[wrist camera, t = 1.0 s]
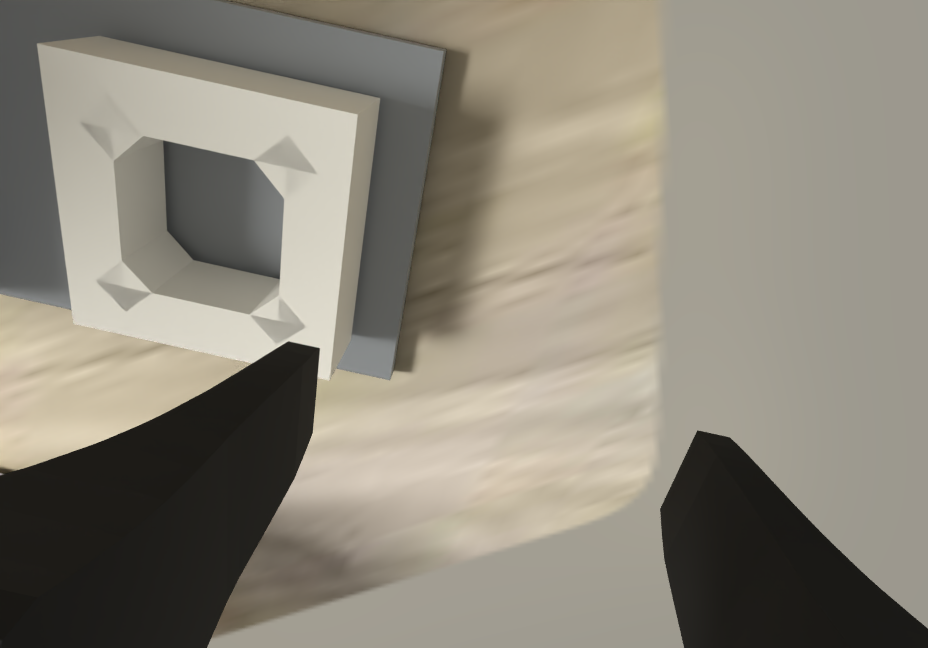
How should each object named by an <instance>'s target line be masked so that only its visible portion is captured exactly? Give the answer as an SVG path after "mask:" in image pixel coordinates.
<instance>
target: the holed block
mask: <svg viewBox="0 0 928 648" xmlns="http://www.w3.org/2000/svg"><path fill="white" fill-rule="evenodd" d="M37 48H38V56H39V64H40V71H41V79H42V86H43V94H44V102H45V109H46V117H47V125H48V132H49V140H50V148H51V155H52V163H53V171H54V178H55V186H56V194H57V201H58V209H59V217H60V224H61V232H62V240H63V247H64V255H65V263H66V270H67V278H68V286H69V293H70V301H71V309H72V316H73V324H76V325H81V326H85V327H90V328H94V329H99V330H103V331H108V332H112V333H117V334H121V335H126V336H130V337H135V338H139V339H144V340H149V341H153V342H158V343H162V344H167V345H171V346H176V347H180V348H185V349H189V350H194V351H198V352H203V353H207V354H212V355H216V356H221V357H225V358H230V359H234V360H239V361H243V362H248V363H254V362H255V361H257V360H259V359H260V358H262V357H263V356H265V355H266V354H268V353H270V352H271V351H273V350H275V349H276V348H278V347H280V346H281V345H283V344H285V343H286V342H288V341H290V342H294V343H299V344H303V345H308V346H313V347H317V348H320V355H319V366H318V377H317V378H320V379H325V380H329V381H330V379H331V377H332V375H333V373H334V371H335V369H336V367H337V365H338V364H339V362H340V360H341V358H342V356H343V354H344V352H345V350H346V348H347V346H348V345H349V343H350V341H351V335H352V327H353V319H354V311H355V302H356V294H357V286H358V278H359V270H360V261H361V253H362V245H363V237H364V228H365V220H366V212H367V204H368V196H369V187H370V179H371V171H372V163H373V154H374V146H375V138H376V130H377V122H378V113H379V105H380V98H378V97H373V96H369V95H364V94H360V93H355V92H351V91H346V90H342V89H337V88H333V87H328V86H324V85H319V84H315V83H310V82H306V81H301V80H297V79H292V78H288V77H283V76H279V75H274V74H269V73H265V72H260V71H256V70H251V69H247V68H242V67H238V66H233V65H229V64H224V63H220V62H215V61H211V60H206V59H202V58H197V57H193V56H188V55H184V54H179V53H175V52H170V51H166V50H161V49H157V48H152V47H148V46H143V45H139V44H134V43H130V42H125V41H121V40H116V39H112V38H107V37H103V36H94V37H86V38H77V39H69V40H61V41H53V42H44V43H37ZM163 140H164V141H169V142H173V143H178V144H182V145H187V146H191V147H196V148H200V149H205V150H209V151H214V152H218V153H223V154H227V155H232V156H237V157H241V158H246V159H250V160H254V161H255V163H256V164H257V165H258V166H259V168H260V169H261V170H262V171H263V173H264V174H265V175H266V176H267V178H268V179H269V180H270V182H271V183H272V184H273V185H274V187H275V188H276V189H277V190H278V192H279V193H280V194H281V195H282V197H283V198H284V213H283V232H282V250H281V269H280V279H276V278H272V277H267V276H263V275H258V274H254V273H249V272H245V271H240V270H236V269H231V268H227V267H222V266H218V265H213V264H209V263H204V262H200V261H195V260H193V259H192V258H191V257H190V256H189V255H188V254H187V252H186V251H185V250H184V249H183V248H182V247H181V246H180V245H179V243H178V242H177V241H176V240H175V239H174V238H173V237H172V236H171V234H170V233H169V232H168V231H167V220H166V196H165V173H164V149H163Z"/></svg>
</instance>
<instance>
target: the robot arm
mask: <svg viewBox="0 0 928 648" xmlns="http://www.w3.org/2000/svg"><path fill="white" fill-rule="evenodd" d="M319 355H320V348H317V347H313V346H308V345H303V344H299V343H294V342H290V341H288V342H286V343H285V344H283V345H281V346H280V347H278V348H276V349H275V350H273V351H271V352H270V353H268V354H266V355H265V356H263V357H262V358H260V359H259V360H257V361H255V362H254V363H252V364H251V365H249V366H247V367H246V368H244V369H243V370H241V371H239V372H238V373H236V374H234V375H233V376H231V377H229V378H228V379H226V380H224V381H223V382H221V383H219V384H218V385H216V386H214V387H213V388H211V389H209V390H208V391H206V392H204V393H202V394H200V395H198V396H196V397H195V398H193V399H191V400H189V401H187V402H185V403H183V404H181V405H180V406H178V407H176V408H174V409H172V410H170V411H168V412H166V413H164V414H162V415H160V416H158V417H156V418H154V419H152V420H150V421H148V422H146V423H143V424H141V425H139V426H137V427H135V428H132V429H130V430H128V431H125V432H123V433H120V434H118V435H116V436H113V437H111V438H109V439H106V440H104V441H101V442H99V443H96V444H93V445H91V446H88V447H85V448H82V449H79V450H76V451H73V452H71V453H68V454H65V455H62V456H59V457H56V458H53V459H51V460H48V461H45V462H42V463H39V464H36V465H33V466H30V467H27V468H24V469H20V470H17V471H13V472H10V473H7V474H3V473H0V648H207V646H208V644H209V642H210V639H211V637H212V635H213V632H214V630H215V628H216V626H217V623H218V621H219V619H220V616H221V614H222V612H223V610H224V607H225V605H226V603H227V601H228V599H229V597H230V595H231V593H232V591H233V589H234V587H235V585H236V583H237V581H238V579H239V577H240V575H241V573H242V572H243V570H244V568H245V566H246V565H247V563H248V561H249V559H250V557H251V556H252V554H253V552H254V550H255V548H256V547H257V545H258V543H259V541H260V540H261V538H262V536H263V534H264V532H265V531H266V529H267V527H268V525H269V524H270V522H271V520H272V518H273V516H274V515H275V513H276V511H277V509H278V507H279V506H280V504H281V502H282V500H283V498H284V497H285V495H286V493H287V491H288V489H289V487H290V486H291V484H292V482H293V480H294V478H295V476H296V473H297V471H298V468H299V466H300V464H301V461H302V459H303V456H304V454H305V451H306V449H307V446H308V443H309V441H310V438H311V436H312V433H313V422H314V411H315V400H316V388H317V377H318V366H319ZM660 512H661V526H662V539H663V550H664V559H665V564H666V568H667V574H668V578H669V583H670V587H671V592H672V596H673V601H674V605H675V610H676V614H677V618H678V623H679V627H680V631H681V636H682V640H683V644H684V648H928V629H927V628H926V627H925V626H924V625H923V624H922V623H920V622H919V621H918V620H917V619H916V618H914V617H913V616H912V615H911V614H910V613H908V612H907V611H906V610H905V609H904V608H903V607H901V606H900V605H899V604H898V603H897V602H895V601H894V600H893V599H892V598H891V597H890V596H888V595H887V594H886V593H885V592H884V591H882V590H881V589H880V588H879V587H878V586H877V585H876V584H875V583H874V582H872V581H871V580H870V579H869V578H868V577H867V576H866V575H865V574H864V573H863V572H861V571H860V570H859V569H858V568H857V567H856V566H855V565H854V564H853V563H852V562H851V561H850V560H849V559H848V558H847V557H846V556H845V555H844V554H842V552H841V551H840V550H838V549H837V548H836V547H835V546H834V545H833V544H832V543H831V542H830V541H829V540H828V539H827V538H826V537H825V536H824V535H823V534H822V533H821V532H820V531H819V530H818V529H817V528H816V527H815V526H814V525H813V524H812V523H811V522H810V521H809V520H808V518H806V516H805V515H804V514H803V513H802V512H801V511H800V510H799V509H798V508H797V507H796V506H795V505H794V504H793V503H792V502H791V501H790V500H789V499H788V498H787V496H786V495H785V494H784V493H783V492H782V491H781V490H780V489H779V488H778V487H777V486H776V485H775V484H774V482H773V481H771V479H770V478H769V477H768V476H767V475H766V474H765V473H764V472H763V471H762V470H761V469H760V467H759V466H758V465H757V464H756V463H755V462H754V461H753V460H752V459H751V458H750V457H749V456H748V455H747V454H746V453H745V452H744V451H743V450H742V449H741V448H740V447H739V446H738V445H737V444H736V443H735V442H734V441H733V440H732V439H731V438H729V437H725V436H720V435H716V434H711V433H707V432H702V431H697V433H696V435H695V437H694V439H693V441H692V443H691V445H690V447H689V450H688V452H687V454H686V456H685V458H684V460H683V462H682V464H681V466H680V468H679V471H678V473H677V475H676V477H675V479H674V481H673V483H672V486H671V487H670V490H669V492H668V494H667V496H666V498H665V500H664V503H663V504H662V506H661V509H660Z"/></svg>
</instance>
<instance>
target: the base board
mask: <svg viewBox="0 0 928 648" xmlns="http://www.w3.org/2000/svg"><path fill="white" fill-rule="evenodd" d="M94 36H103V37H107V38H112V39H116V40H121V41H125V42H130V43H134V44H139V45H143V46H148V47H152V48H157V49H161V50H166V51H170V52H175V53H179V54H184V55H188V56H193V57H197V58H202V59H206V60H211V61H215V62H220V63H224V64H229V65H233V66H238V67H242V68H247V69H251V70H256V71H260V72H265V73H269V74H274V75H279V76H283V77H288V78H292V79H297V80H301V81H306V82H310V83H315V84H319V85H324V86H328V87H333V88H337V89H342V90H346V91H351V92H355V93H360V94H364V95H369V96H373V97H378V98H380V105H379V113H378V122H377V130H376V138H375V146H374V154H373V163H372V171H371V179H370V187H369V196H368V204H367V212H366V220H365V228H364V237H363V245H362V253H361V261H360V270H359V278H358V286H357V294H356V302H355V311H354V319H353V327H352V335H351V341H350V343H349V345H348V346H347V348H346V350H345V352H344V354H343V356H342V358H341V360H340V362H339V364H338V365H337V367H336V368H337V369H341V370H346V371H350V372H355V373H359V374H364V375H368V376H373V377H377V378H382V379H386V380H390V379H391V376H392V374H393V371H394V365H395V359H396V353H397V347H398V340H399V334H400V328H401V322H402V316H403V310H404V304H405V298H406V292H407V286H408V280H409V274H410V268H411V262H412V256H413V250H414V244H415V238H416V232H417V226H418V220H419V213H420V207H421V201H422V195H423V189H424V183H425V177H426V171H427V165H428V159H429V153H430V147H431V141H432V135H433V129H434V123H435V117H436V111H437V105H438V99H439V93H440V86H441V80H442V74H443V68H444V62H445V56H446V50H447V49H443V48H438V47H434V46H429V45H425V44H420V43H416V42H411V41H407V40H402V39H398V38H393V37H389V36H384V35H380V34H375V33H371V32H366V31H362V30H357V29H353V28H348V27H344V26H339V25H335V24H330V23H326V22H321V21H317V20H312V19H308V18H303V17H299V16H294V15H290V14H285V13H281V12H276V11H272V10H267V9H263V8H258V7H254V6H249V5H245V4H240V3H236V2H231V1H227V0H0V294H2V295H7V296H11V297H16V298H20V299H25V300H29V301H34V302H38V303H43V304H47V305H52V306H56V307H61V308H66V309H70V310H72V309H71V301H70V293H69V286H68V278H67V270H66V263H65V255H64V247H63V240H62V232H61V224H60V217H59V209H58V201H57V194H56V186H55V178H54V171H53V163H52V155H51V148H50V140H49V132H48V125H47V117H46V109H45V102H44V94H43V86H42V79H41V71H40V64H39V56H38V48H37V43H44V42H53V41H61V40H69V39H77V38H86V37H94ZM163 149H164V173H165V196H166V220H167V231H168V232H169V233H170V234H171V236H172V237H173V238H174V239H175V240H176V241H177V242H178V243H179V245H180V246H181V247H182V248H183V249H184V250H185V251H186V252H187V254H188V255H189V256H190V257H191V258H192V259H193V260H195V261H200V262H204V263H209V264H213V265H218V266H222V267H227V268H231V269H236V270H240V271H245V272H249V273H254V274H258V275H263V276H267V277H272V278H276V279H280V269H281V250H282V232H283V213H284V198H283V197H282V195H281V194H280V193H279V192H278V190H277V189H276V188H275V187H274V185H273V184H272V183H271V182H270V180H269V179H268V178H267V176H266V175H265V174H264V173H263V171H262V170H261V169H260V168H259V166H258V165H257V164H256V163H255V161H254V160H250V159H246V158H241V157H237V156H232V155H227V154H223V153H218V152H214V151H209V150H205V149H200V148H196V147H191V146H187V145H182V144H178V143H173V142H169V141H164V140H163Z"/></svg>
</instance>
